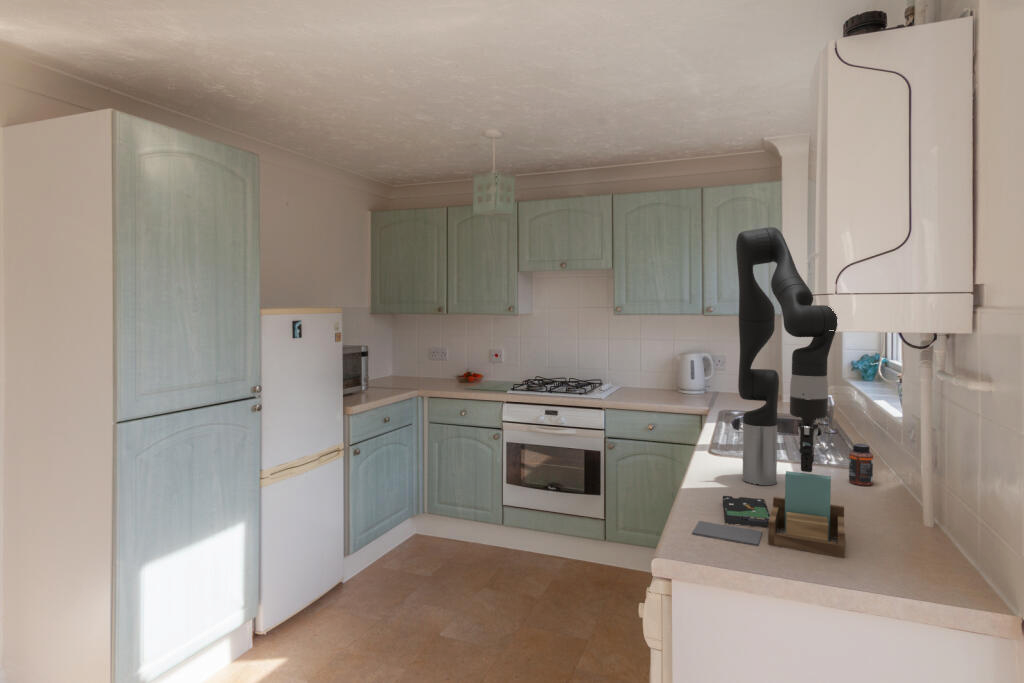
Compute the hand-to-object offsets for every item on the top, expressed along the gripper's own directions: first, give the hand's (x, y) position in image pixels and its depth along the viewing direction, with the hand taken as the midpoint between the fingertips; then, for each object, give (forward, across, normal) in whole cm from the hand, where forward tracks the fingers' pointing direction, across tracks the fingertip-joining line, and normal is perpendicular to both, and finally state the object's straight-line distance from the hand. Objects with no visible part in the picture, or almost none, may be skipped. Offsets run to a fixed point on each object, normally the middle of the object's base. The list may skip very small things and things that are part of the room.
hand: (807, 466), depth 128 cm
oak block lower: (+16, +5, 0) cm, 17 cm away
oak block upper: (+13, +4, 0) cm, 14 cm away
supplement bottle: (+16, -49, +12) cm, 53 cm away
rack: (+16, +3, 0) cm, 16 cm away
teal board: (+16, 0, 0) cm, 16 cm away
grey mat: (+16, +7, -16) cm, 23 cm away
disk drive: (+16, -8, -14) cm, 23 cm away
